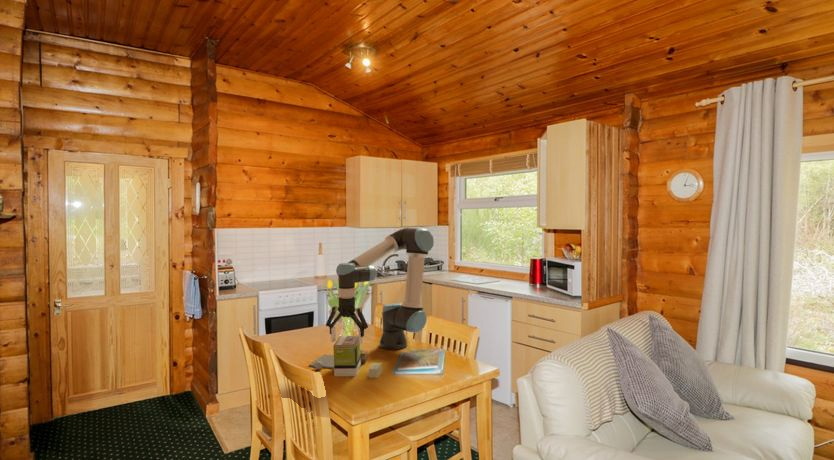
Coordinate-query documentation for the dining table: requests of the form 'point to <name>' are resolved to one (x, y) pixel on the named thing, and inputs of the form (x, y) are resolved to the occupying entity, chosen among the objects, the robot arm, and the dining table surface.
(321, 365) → the grey rubber ball
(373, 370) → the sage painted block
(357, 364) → the tea box
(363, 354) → the walnut cube
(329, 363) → the slate trivet
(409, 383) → the dining table surface
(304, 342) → the dining table surface
